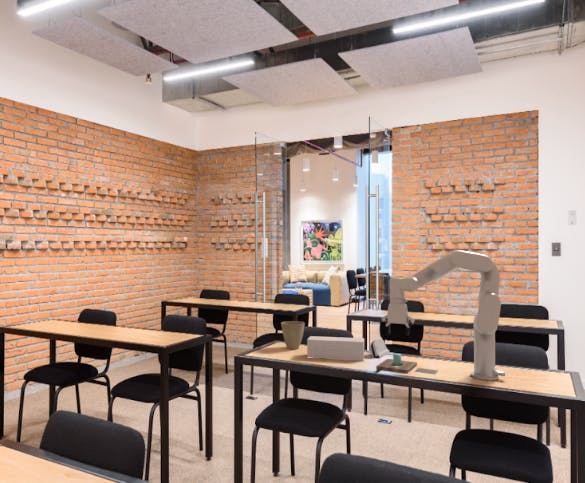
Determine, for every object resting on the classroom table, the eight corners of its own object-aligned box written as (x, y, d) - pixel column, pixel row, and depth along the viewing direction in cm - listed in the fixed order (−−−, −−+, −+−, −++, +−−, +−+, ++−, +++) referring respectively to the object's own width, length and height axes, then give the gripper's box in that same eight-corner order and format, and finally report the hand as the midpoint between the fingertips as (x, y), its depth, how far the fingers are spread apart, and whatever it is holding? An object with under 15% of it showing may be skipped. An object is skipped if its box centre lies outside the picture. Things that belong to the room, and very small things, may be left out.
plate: (438, 373, 229) (438, 370, 229) (434, 377, 222) (434, 374, 222) (418, 370, 233) (418, 367, 233) (414, 374, 226) (414, 371, 226)
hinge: (380, 358, 260) (374, 341, 262) (372, 360, 262) (367, 343, 264) (390, 352, 274) (384, 336, 276) (383, 354, 277) (377, 338, 279)
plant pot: (304, 345, 293) (304, 321, 294) (305, 350, 278) (305, 324, 279) (281, 345, 293) (281, 320, 293) (280, 350, 278) (280, 324, 279)
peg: (402, 369, 236) (402, 354, 236) (399, 371, 232) (399, 355, 232) (394, 368, 237) (394, 353, 238) (392, 370, 234) (392, 354, 234)
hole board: (416, 368, 239) (416, 362, 239) (407, 376, 223) (407, 369, 223) (387, 364, 247) (387, 358, 247) (376, 371, 231) (376, 365, 231)
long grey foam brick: (307, 358, 260) (307, 339, 260) (309, 354, 271) (310, 336, 271) (363, 361, 254) (363, 341, 254) (364, 356, 265) (364, 338, 265)
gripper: (415, 301, 235) (416, 334, 234) (383, 300, 243) (384, 332, 242) (412, 302, 228) (413, 336, 228) (378, 301, 236) (379, 334, 236)
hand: (398, 334), depth 235 cm, fingers open, 9 cm apart
